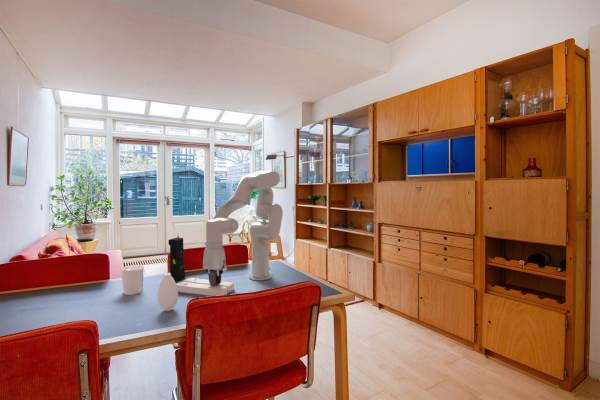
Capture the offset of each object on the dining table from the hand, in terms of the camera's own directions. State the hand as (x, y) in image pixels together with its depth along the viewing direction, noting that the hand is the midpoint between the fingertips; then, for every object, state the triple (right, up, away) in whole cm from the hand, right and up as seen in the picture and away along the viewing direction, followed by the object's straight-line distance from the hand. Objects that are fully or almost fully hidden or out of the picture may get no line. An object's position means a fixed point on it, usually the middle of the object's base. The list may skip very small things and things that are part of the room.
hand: (215, 282), depth 152 cm
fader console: (-6, -5, +2) cm, 8 cm away
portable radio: (-27, -4, +22) cm, 35 cm away
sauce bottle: (-14, -7, -20) cm, 26 cm away
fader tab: (0, -4, 0) cm, 4 cm away
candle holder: (-40, -5, +2) cm, 41 cm away
